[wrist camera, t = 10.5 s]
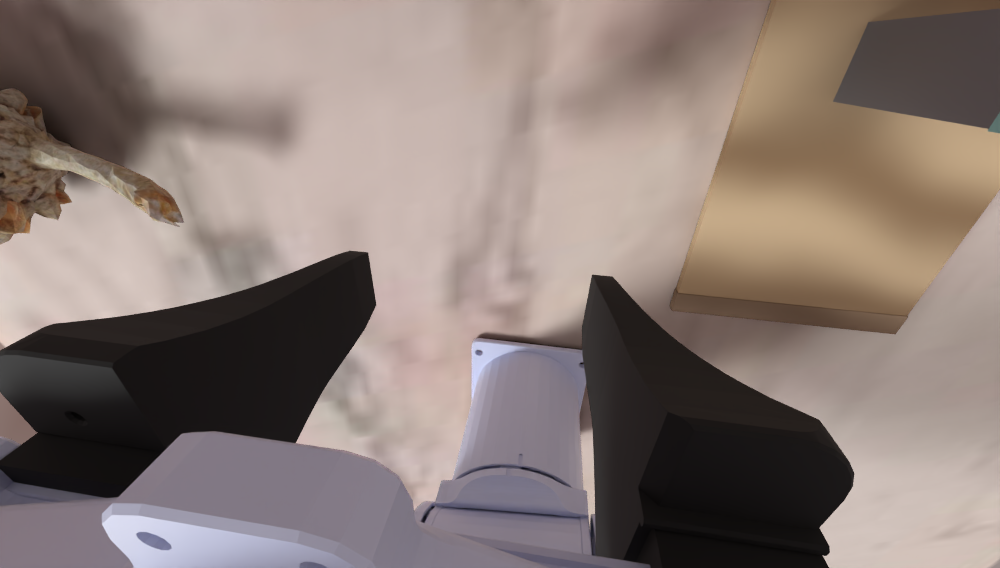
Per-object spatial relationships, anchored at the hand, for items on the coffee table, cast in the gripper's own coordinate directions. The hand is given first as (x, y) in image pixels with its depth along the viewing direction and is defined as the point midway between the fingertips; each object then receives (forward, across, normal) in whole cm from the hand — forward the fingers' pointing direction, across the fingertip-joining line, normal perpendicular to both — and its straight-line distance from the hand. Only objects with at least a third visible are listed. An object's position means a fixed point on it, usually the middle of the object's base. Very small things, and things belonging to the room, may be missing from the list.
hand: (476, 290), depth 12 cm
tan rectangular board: (+10, -16, -2) cm, 19 cm away
